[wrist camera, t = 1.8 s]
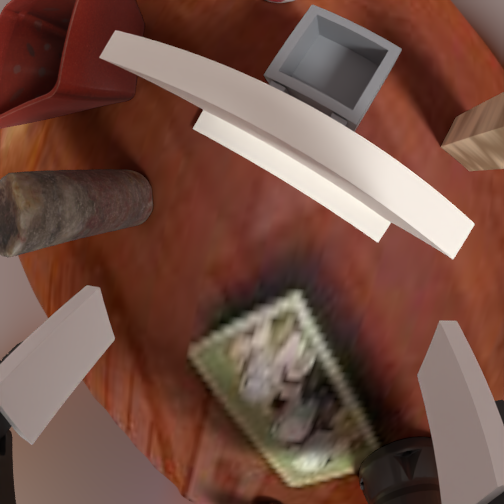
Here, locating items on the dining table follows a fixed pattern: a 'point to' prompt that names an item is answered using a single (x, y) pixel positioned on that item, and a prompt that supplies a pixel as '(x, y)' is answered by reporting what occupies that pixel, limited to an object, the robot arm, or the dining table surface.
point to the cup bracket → (307, 122)
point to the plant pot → (62, 57)
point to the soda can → (279, 1)
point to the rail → (478, 136)
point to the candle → (68, 206)
